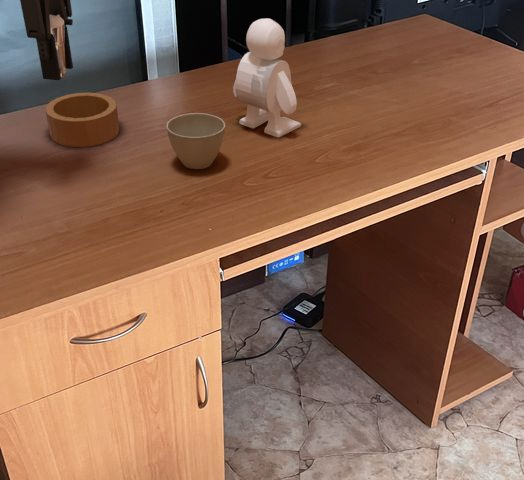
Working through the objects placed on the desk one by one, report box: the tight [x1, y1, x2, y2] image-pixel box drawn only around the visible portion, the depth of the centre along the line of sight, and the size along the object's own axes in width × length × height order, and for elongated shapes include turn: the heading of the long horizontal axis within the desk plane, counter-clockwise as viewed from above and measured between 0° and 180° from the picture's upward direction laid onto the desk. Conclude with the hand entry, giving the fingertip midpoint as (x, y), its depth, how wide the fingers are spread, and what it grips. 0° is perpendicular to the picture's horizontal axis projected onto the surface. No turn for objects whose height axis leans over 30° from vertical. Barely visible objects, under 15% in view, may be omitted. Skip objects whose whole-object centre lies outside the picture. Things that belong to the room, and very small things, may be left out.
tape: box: [44, 92, 120, 148], centre depth 146 cm, size 13×13×5 cm
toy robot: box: [232, 18, 302, 138], centre depth 143 cm, size 14×9×20 cm, turn 51°
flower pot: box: [165, 112, 226, 170], centre depth 136 cm, size 10×10×7 cm
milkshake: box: [49, 15, 67, 78], centre depth 124 cm, size 4×5×10 cm
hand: (58, 72), depth 126 cm, fingers closed on milkshake, 4 cm apart
